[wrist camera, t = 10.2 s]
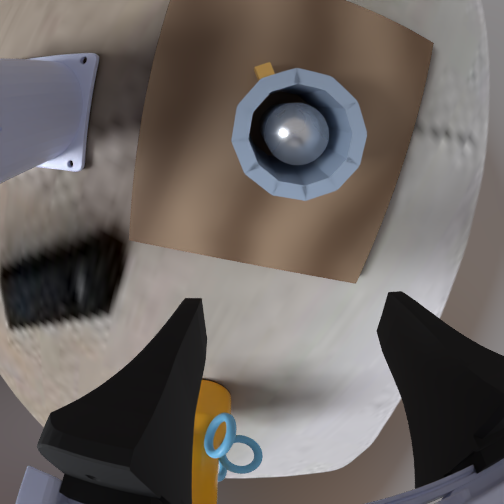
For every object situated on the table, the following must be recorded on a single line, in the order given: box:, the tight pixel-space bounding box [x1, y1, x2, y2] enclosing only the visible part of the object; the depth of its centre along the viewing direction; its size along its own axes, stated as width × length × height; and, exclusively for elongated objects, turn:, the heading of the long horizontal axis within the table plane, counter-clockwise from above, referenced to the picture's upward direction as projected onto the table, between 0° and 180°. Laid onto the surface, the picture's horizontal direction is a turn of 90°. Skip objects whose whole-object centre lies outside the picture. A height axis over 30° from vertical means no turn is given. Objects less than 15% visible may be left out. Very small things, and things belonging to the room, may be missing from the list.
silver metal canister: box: [259, 103, 329, 165], centre depth 13 cm, size 3×3×5 cm
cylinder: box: [192, 380, 262, 504], centre depth 22 cm, size 12×10×15 cm
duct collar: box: [231, 62, 367, 201], centre depth 13 cm, size 5×6×6 cm
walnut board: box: [129, 0, 434, 283], centre depth 16 cm, size 16×18×1 cm
